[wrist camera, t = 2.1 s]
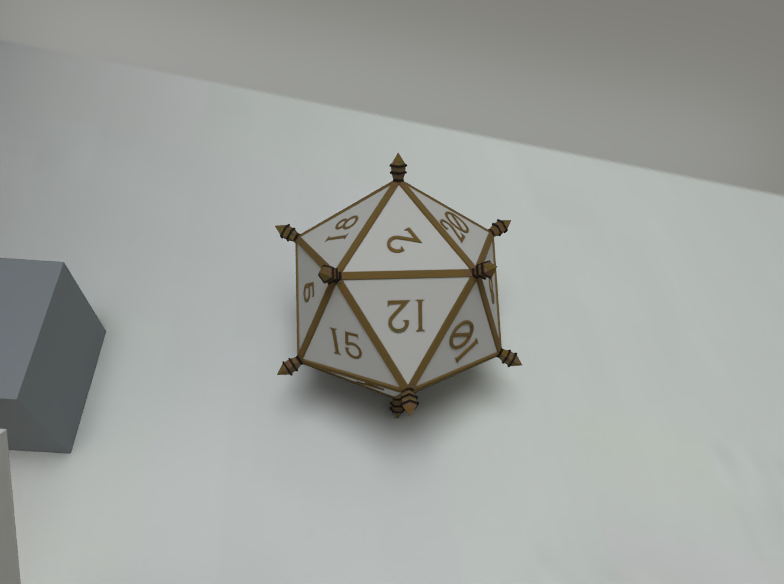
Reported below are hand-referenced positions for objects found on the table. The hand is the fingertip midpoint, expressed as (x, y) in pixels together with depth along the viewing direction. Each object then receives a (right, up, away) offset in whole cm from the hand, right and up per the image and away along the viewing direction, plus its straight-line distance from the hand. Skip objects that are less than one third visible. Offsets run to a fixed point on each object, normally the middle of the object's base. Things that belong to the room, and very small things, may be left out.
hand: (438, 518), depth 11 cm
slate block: (-15, 0, +16) cm, 22 cm away
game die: (-1, +1, +18) cm, 18 cm away
